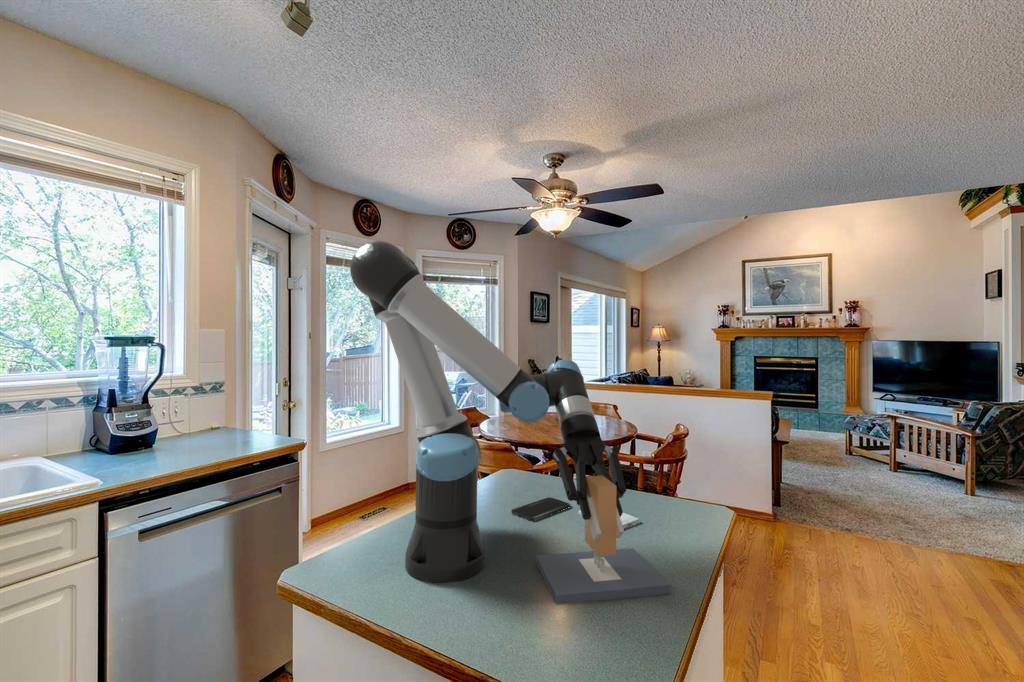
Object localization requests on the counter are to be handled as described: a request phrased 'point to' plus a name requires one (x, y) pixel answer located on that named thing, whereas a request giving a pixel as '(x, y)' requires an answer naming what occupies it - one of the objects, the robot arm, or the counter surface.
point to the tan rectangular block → (602, 515)
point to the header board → (599, 576)
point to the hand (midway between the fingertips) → (608, 535)
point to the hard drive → (625, 520)
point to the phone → (540, 509)
